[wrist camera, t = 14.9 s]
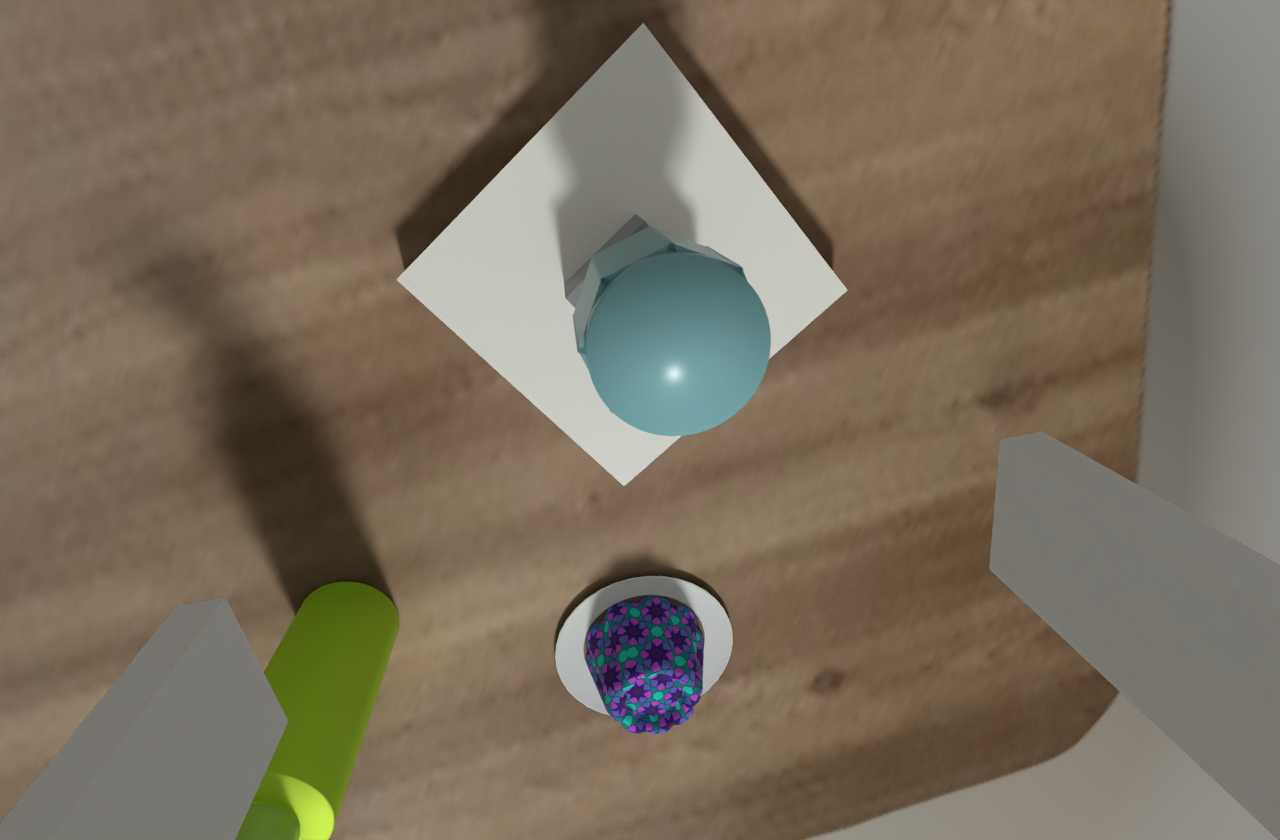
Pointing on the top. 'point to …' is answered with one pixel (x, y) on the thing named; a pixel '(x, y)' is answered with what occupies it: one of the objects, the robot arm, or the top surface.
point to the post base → (609, 238)
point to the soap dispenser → (322, 708)
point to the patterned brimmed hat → (644, 652)
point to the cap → (670, 333)
